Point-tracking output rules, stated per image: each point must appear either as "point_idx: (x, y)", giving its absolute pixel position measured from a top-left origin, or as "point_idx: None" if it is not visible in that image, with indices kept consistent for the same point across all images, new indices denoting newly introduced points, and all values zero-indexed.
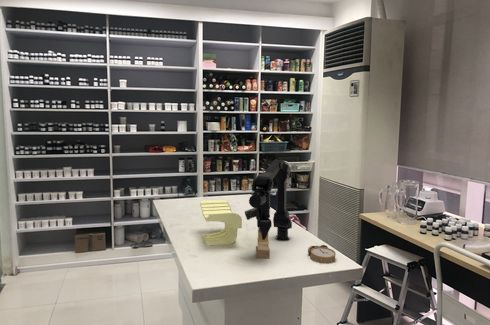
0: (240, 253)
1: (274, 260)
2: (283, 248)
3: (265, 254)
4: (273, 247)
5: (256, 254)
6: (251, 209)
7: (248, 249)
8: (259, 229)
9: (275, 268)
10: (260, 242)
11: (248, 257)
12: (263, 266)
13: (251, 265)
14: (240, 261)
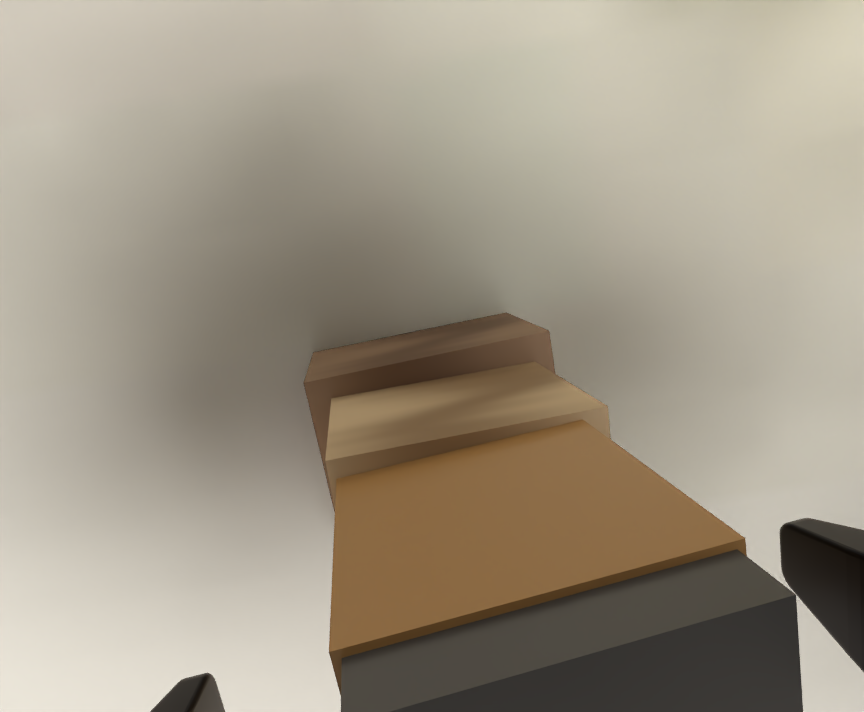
0: (486, 58)
1: (308, 602)
2: None
3: None
4: (784, 508)
5: (312, 365)
6: None
7: (677, 167)
8: (575, 700)
9: (11, 666)
10: None
11: (337, 221)
12: (29, 503)
13: (7, 324)
14: (125, 114)
